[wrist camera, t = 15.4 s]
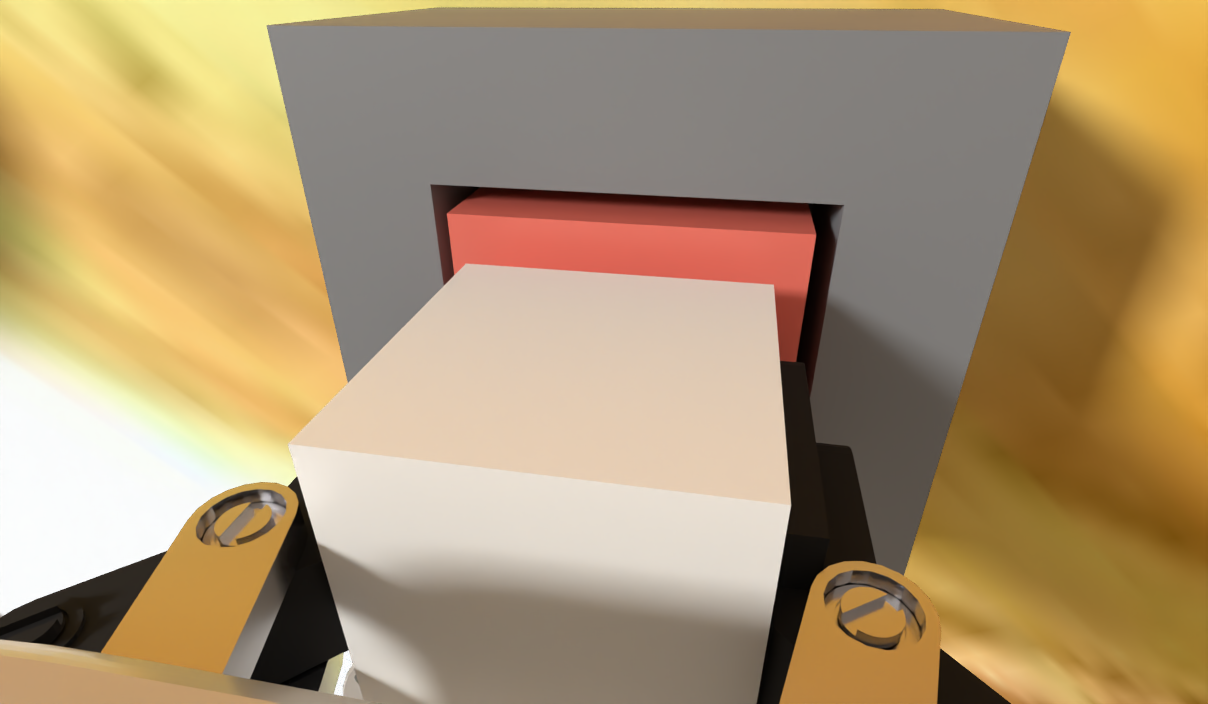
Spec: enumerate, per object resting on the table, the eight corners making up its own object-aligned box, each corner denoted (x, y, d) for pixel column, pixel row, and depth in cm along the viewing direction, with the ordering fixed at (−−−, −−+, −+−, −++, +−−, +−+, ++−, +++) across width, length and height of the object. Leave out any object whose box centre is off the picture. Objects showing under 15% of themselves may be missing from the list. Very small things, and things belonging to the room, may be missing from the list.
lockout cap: (742, 525, 13) (739, 804, 8) (492, 494, 14) (373, 732, 9) (774, 285, 10) (791, 505, 6) (465, 263, 11) (287, 443, 7)
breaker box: (847, 440, 21) (887, 628, 15) (482, 402, 23) (386, 554, 17) (941, 9, 15) (1070, 32, 9) (437, 7, 17) (267, 25, 11)
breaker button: (765, 415, 17) (770, 525, 14) (531, 391, 18) (480, 488, 15) (799, 171, 14) (816, 235, 11) (515, 159, 15) (446, 213, 12)
